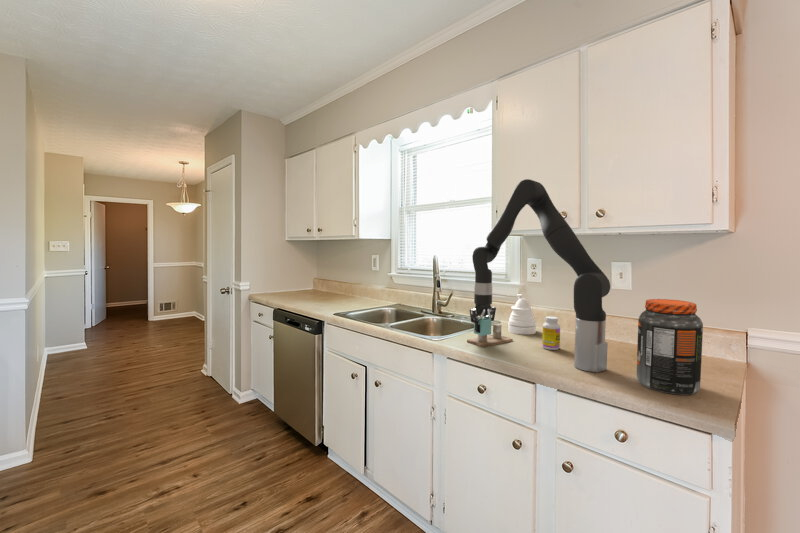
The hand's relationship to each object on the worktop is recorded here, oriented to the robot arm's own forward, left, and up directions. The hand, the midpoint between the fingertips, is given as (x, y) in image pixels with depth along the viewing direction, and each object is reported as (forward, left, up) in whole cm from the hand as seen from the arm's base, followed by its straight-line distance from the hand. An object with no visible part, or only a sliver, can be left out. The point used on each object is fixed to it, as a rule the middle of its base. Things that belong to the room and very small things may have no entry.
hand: (482, 331), depth 160 cm
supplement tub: (-65, -12, -5) cm, 66 cm away
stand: (0, -5, -5) cm, 7 cm away
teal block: (0, 0, -1) cm, 1 cm away
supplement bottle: (-21, -18, -5) cm, 28 cm away
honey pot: (+5, -32, -5) cm, 33 cm away
